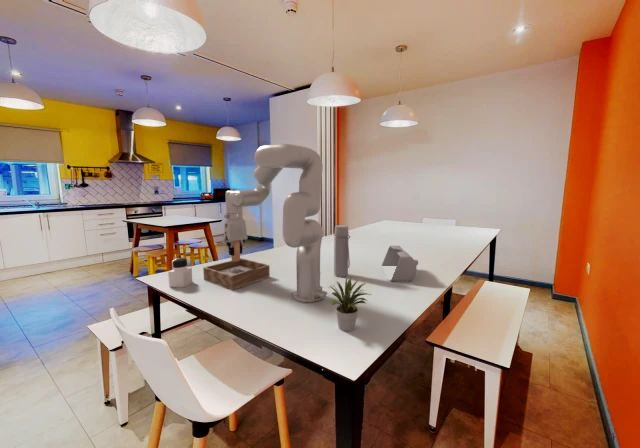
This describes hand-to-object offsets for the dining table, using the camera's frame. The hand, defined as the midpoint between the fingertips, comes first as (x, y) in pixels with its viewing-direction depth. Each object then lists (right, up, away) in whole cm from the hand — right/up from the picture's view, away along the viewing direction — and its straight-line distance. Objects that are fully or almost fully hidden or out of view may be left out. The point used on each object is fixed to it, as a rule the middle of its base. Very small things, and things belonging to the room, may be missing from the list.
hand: (235, 253), depth 136 cm
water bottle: (+52, -12, +6) cm, 53 cm away
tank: (+82, -12, +9) cm, 83 cm away
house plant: (+48, -19, -47) cm, 70 cm away
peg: (0, -3, +1) cm, 3 cm away
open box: (0, -12, +2) cm, 12 cm away
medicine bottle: (-23, -14, -7) cm, 27 cm away
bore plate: (0, -12, +2) cm, 12 cm away
